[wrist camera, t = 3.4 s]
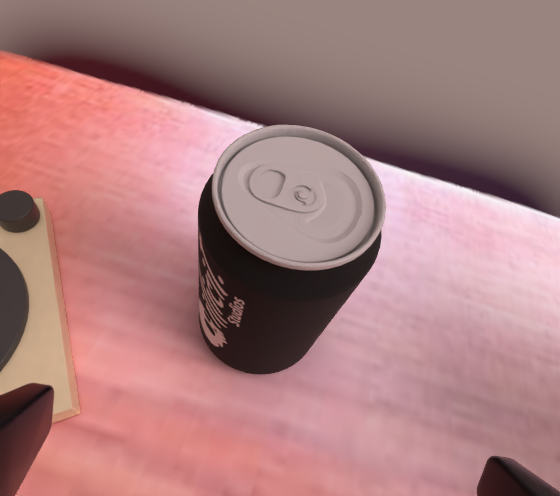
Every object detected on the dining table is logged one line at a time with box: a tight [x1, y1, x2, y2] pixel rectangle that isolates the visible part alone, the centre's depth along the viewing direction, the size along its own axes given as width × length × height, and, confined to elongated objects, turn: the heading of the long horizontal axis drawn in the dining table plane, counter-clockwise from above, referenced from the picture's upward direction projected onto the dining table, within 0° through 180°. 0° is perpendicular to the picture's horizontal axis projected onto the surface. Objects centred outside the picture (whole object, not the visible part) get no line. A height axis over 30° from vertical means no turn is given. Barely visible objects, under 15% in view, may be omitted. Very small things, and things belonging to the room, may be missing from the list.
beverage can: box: [198, 125, 386, 374], centre depth 19 cm, size 7×7×12 cm
